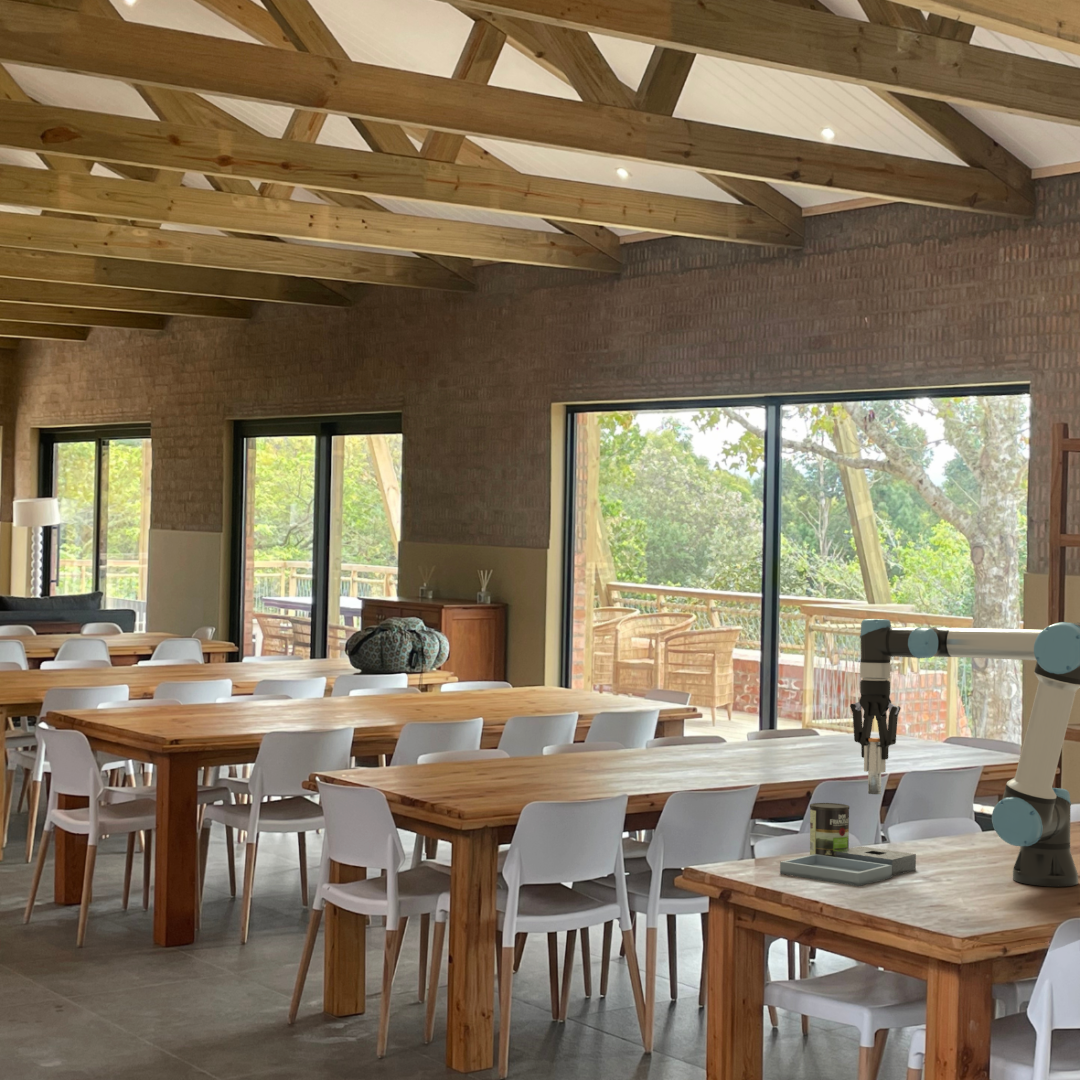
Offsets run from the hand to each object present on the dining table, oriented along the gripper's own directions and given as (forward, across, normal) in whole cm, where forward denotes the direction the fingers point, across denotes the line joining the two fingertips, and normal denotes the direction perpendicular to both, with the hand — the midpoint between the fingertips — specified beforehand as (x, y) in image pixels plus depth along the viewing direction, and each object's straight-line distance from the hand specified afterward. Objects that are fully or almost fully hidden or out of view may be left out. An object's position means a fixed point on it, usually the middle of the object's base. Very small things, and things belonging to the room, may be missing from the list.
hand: (874, 771), depth 379 cm
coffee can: (+25, +16, -4) cm, 30 cm away
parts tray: (+25, +2, +16) cm, 29 cm away
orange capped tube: (+6, 0, 0) cm, 6 cm away
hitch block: (+25, 0, 0) cm, 25 cm away
